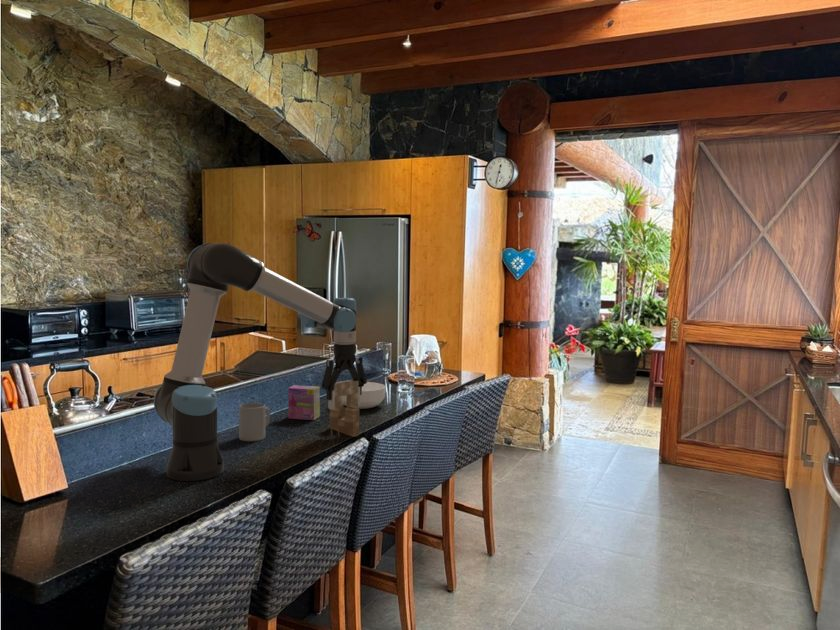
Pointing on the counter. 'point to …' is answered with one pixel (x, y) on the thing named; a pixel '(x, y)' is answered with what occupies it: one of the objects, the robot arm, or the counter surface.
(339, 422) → the notched wooden block
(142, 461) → the counter surface
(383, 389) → the bowl
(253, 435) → the mug
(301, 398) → the box
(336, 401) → the notched wooden horseshoe piece
